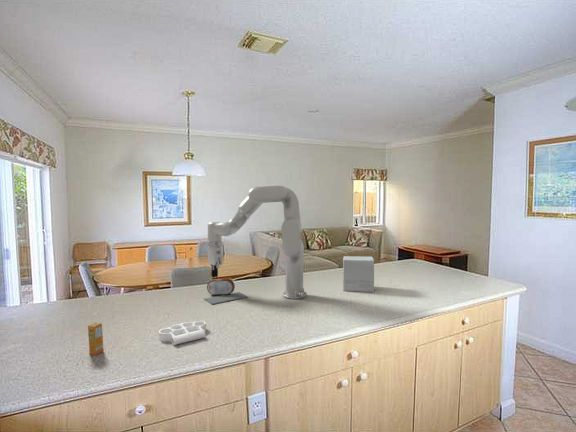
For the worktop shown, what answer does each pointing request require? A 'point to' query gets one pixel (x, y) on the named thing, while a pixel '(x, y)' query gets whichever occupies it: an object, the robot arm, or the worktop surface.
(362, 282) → the supplement box
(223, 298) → the gray mat
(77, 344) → the worktop surface
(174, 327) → the white egg tray
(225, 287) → the tin
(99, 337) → the supplement box
